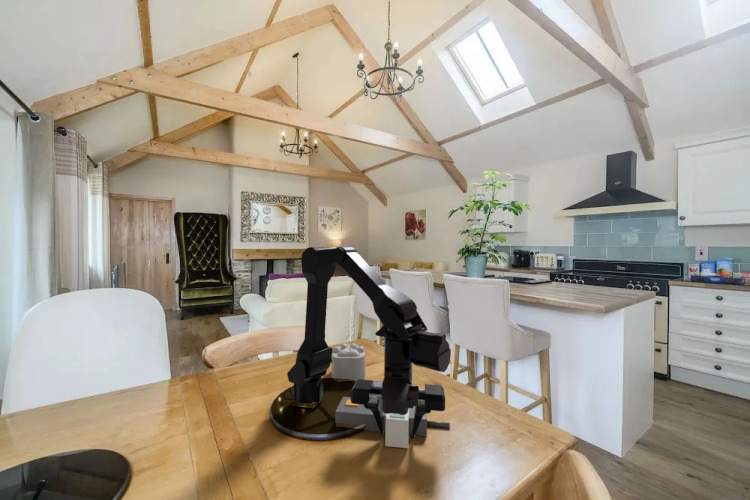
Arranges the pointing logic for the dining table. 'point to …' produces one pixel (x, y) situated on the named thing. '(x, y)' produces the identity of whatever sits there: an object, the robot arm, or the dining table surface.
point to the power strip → (365, 416)
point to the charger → (397, 430)
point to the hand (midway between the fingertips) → (397, 435)
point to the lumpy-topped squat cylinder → (348, 362)
